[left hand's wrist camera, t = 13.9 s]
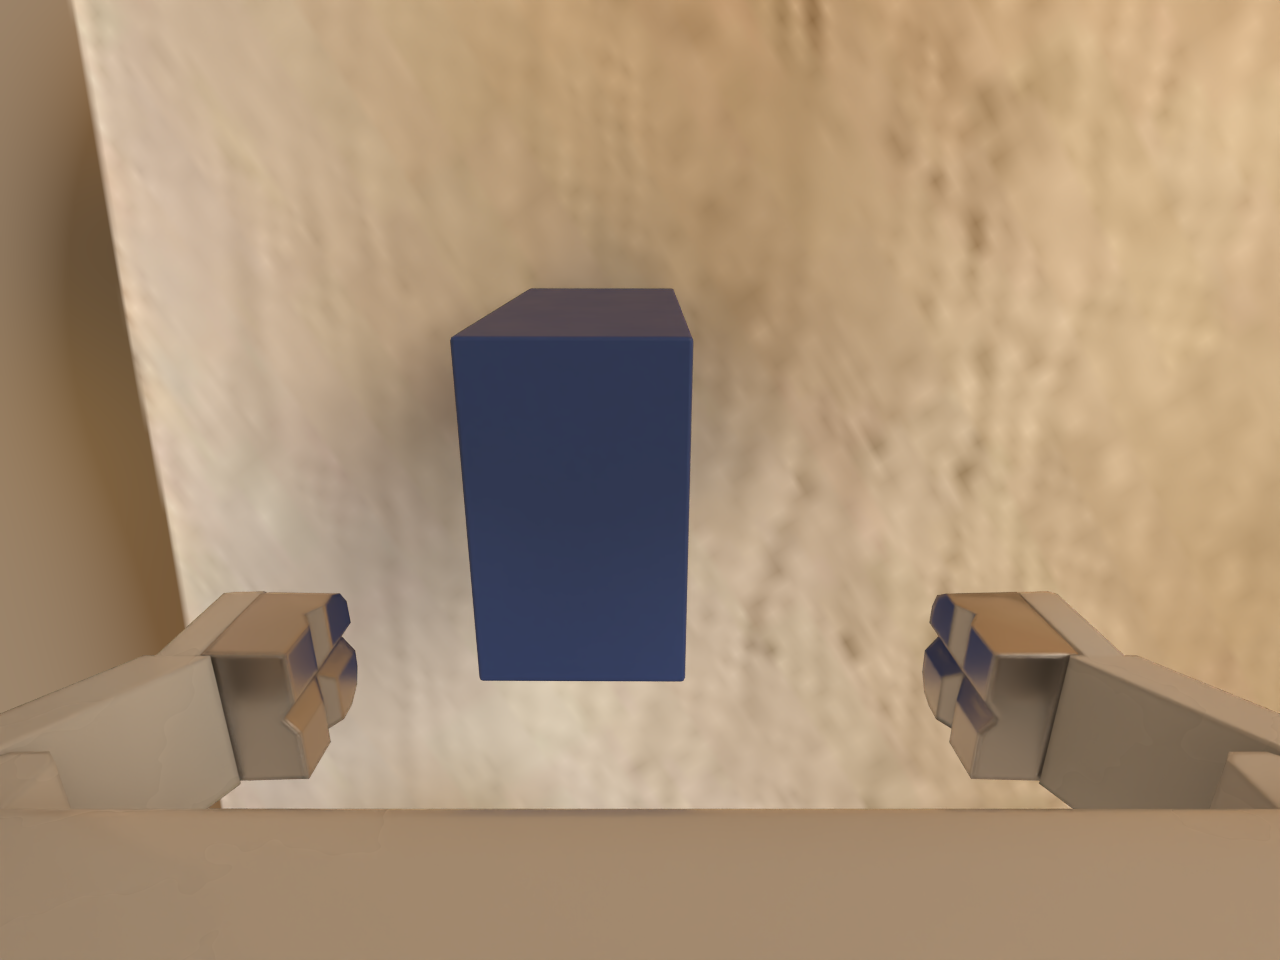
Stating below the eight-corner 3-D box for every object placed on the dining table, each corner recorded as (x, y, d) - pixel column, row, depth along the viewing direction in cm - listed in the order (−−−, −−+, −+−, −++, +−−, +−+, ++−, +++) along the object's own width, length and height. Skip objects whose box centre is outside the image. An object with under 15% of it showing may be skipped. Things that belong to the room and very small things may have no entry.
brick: (539, 512, 28) (478, 681, 18) (528, 288, 26) (448, 336, 15) (670, 512, 28) (685, 683, 18) (674, 288, 26) (693, 336, 15)
